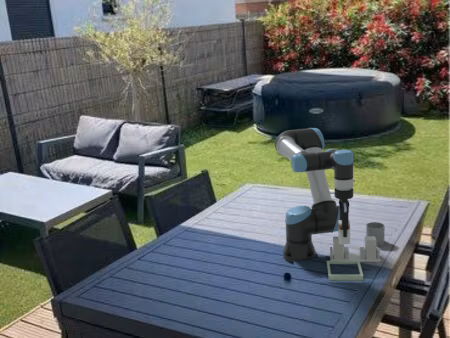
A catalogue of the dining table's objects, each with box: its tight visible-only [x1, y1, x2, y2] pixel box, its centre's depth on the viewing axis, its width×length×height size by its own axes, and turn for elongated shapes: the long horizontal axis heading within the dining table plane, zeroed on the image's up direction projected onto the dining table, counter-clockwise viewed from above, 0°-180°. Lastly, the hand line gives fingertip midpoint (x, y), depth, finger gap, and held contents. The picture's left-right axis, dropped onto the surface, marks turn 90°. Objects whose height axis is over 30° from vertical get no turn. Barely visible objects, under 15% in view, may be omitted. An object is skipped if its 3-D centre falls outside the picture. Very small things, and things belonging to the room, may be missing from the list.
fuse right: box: [364, 235, 377, 259], centre depth 220 cm, size 4×4×9 cm
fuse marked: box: [337, 219, 351, 245], centre depth 206 cm, size 4×4×9 cm
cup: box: [365, 221, 386, 246], centre depth 236 cm, size 8×8×10 cm
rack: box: [329, 246, 381, 263], centre depth 222 cm, size 21×9×6 cm, turn 82°
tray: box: [326, 260, 364, 282], centre depth 211 cm, size 14×14×2 cm
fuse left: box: [332, 236, 345, 259], centre depth 222 cm, size 4×4×9 cm
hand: (344, 241), depth 207 cm, fingers closed on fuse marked, 4 cm apart
